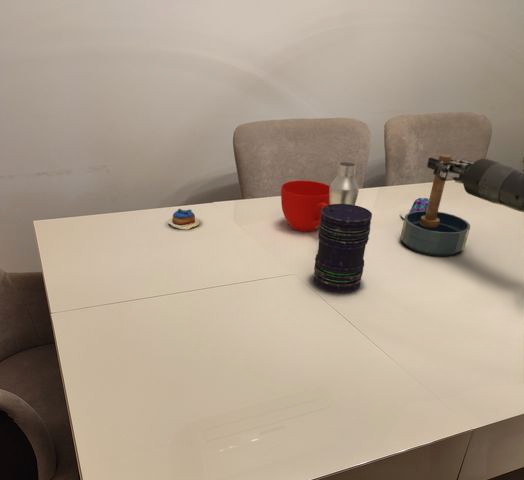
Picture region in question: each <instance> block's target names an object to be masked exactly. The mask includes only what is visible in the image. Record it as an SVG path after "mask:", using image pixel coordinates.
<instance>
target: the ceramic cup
mask: <svg viewBox="0 0 524 480" xmlns="http://www.w3.org/2000/svg"><path fill="white" fill-rule="evenodd" d="M329 188H330V185H329V184H326V183H323V182H320V181H315V180H314V181H312V180H291V181H287V182H284V183H283V184H282V185H281V187H280V203H281V209H282V213H283V216H284V218H285V220H286V221H287V223H288V225H289V226H290V227H291V228H292V229H293V230H295V231H298V232H312V231H315V230H317V228H319V223H320V219H321V210H322V208H323V207H324V206H327V205H329Z"/></svg>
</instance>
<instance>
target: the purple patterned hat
mask: <svg viewBox="0 0 524 480" xmlns="http://www.w3.org/2000/svg"><path fill="white" fill-rule="evenodd" d="M428 202H429V198H428V197H418V198H417V199H415V200H414V201H413V203H412V205H411V207H410V209H405V210H403V211H401V212H400V216H401V217H402V218H403V219H404V218H405V215H406V214H408V213H410V212H414V211H427V207H428Z"/></svg>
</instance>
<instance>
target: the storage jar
mask: <svg viewBox="0 0 524 480" xmlns="http://www.w3.org/2000/svg"><path fill="white" fill-rule="evenodd" d="M372 218H373V213H372V212H371V210H369V209H367V208H366V207H363V206H359V205H356V204H355V205H350V204H331V205H327V206H324V207H323V208H322V210H321V219H320V223H319V226H318V232H317V235H318V236H317V238H318V248H317V253H316V255H315V257H314V261H315V262H314V265H313V267H314V268H313V270H314V273H313V275H314V276H313V284H314V285H315V286H316V287H317V288H318V289H320V290H322V291H325V292H327V293H332V294H350V293H351V294H352V293H354V292H357V290H358V289H360V287H361V280H362V277H363V273H364V267H365V259H364V257H365V252H366V251H365V250H366V246H367V244H368V242H369V240H370V233H371V223H372V222H371V221H372Z"/></svg>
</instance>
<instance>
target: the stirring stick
mask: <svg viewBox="0 0 524 480" xmlns="http://www.w3.org/2000/svg"><path fill="white" fill-rule="evenodd" d="M452 158H453V157H452V155H451V154H446V153H445V154H444V153H441V154H439V156H438V160H441V161H445V162H450V161H451V159H452ZM445 166H446V165H445ZM446 167H447V166H446ZM445 186H446V181H442V180H440V179H439V178H437V177H436V176H435V175H434V178H433V181H432V186H431V190H430V194H429V198H428V199H429V202H428V207H427V211H426V215H425V216H422V217H421V220H420V224H421V225H422V226H425V227H429V228H435V227H438V225H439V221H440V219H439V218H437V213H438V212H439V209H440V205H441V201H442V196H443V193H444V189H445Z"/></svg>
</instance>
